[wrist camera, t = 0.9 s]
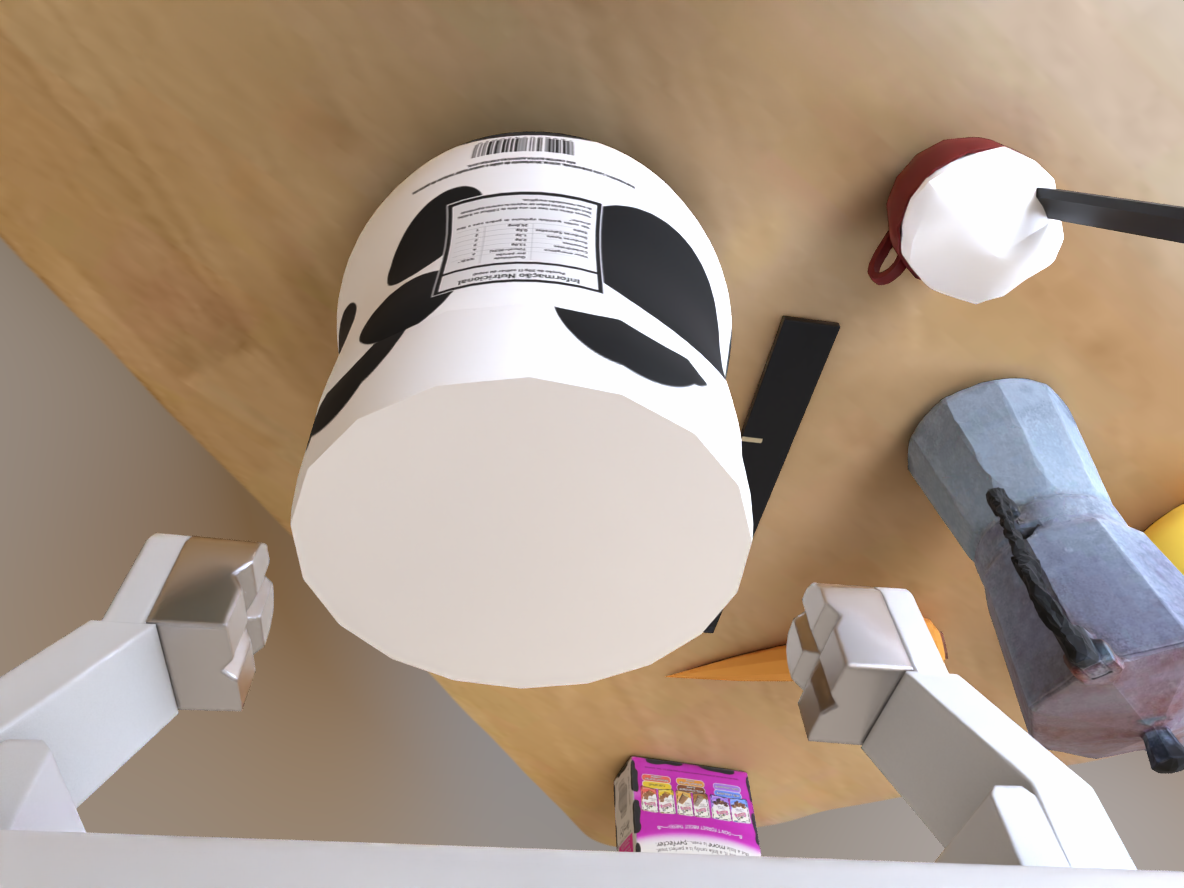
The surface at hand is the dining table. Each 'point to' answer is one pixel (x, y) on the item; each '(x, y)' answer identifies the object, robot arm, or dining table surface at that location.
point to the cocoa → (994, 219)
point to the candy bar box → (683, 809)
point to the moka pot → (1059, 572)
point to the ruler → (781, 405)
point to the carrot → (770, 664)
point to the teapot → (1170, 536)
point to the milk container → (527, 422)
